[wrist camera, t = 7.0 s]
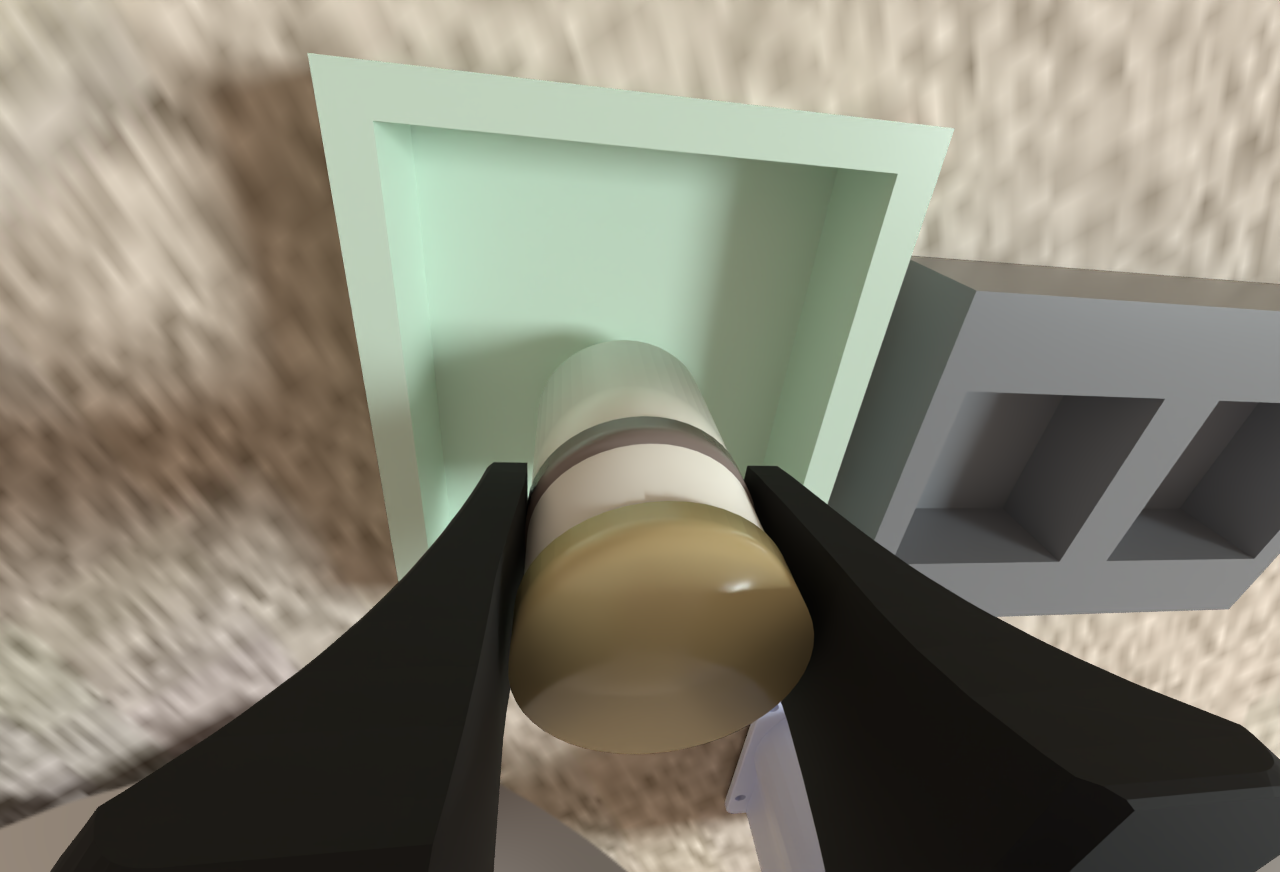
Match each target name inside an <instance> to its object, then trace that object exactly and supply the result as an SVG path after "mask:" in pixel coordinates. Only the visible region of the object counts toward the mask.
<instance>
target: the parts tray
mask: <svg viewBox="0 0 1280 872" xmlns="http://www.w3.org/2000/svg"><path fill="white" fill-rule="evenodd" d="M308 59H309V65H310V71H311V76H312V82H313V88H314V94H315V100H316V105H317V111H318V117H319V123H320V129H321V135H322V140H323V146H324V152H325V158H326V164H327V169H328V175H329V181H330V187H331V193H332V199H333V204H334V210H335V216H336V222H337V228H338V233H339V239H340V245H341V251H342V257H343V263H344V268H345V274H346V280H347V286H348V292H349V297H350V303H351V309H352V315H353V321H354V327H355V332H356V338H357V344H358V350H359V356H360V362H361V367H362V373H363V379H364V385H365V391H366V396H367V402H368V408H369V414H370V420H371V426H372V431H373V437H374V443H375V449H376V455H377V460H378V466H379V472H380V478H381V484H382V490H383V495H384V501H385V507H386V513H387V519H388V524H389V530H390V536H391V542H392V548H393V554H394V559H395V565H396V571H397V577H398V582H399V581H400V580H401V579H402V578H403V577H404V576H405V575H406V574H407V573H408V572H409V571H410V569H411V568H412V567H413V566H414V565H415V564H416V563H417V561H418V560H419V559H420V558H421V557H422V556H423V555H424V553H425V552H426V551H427V550H428V549H429V548H430V547H431V545H432V544H433V543H434V542H435V541H436V540H437V538H438V537H439V536H440V535H441V533H442V532H443V531H444V530H445V528H446V527H447V526H448V524H449V523H450V522H451V520H452V519H453V518H454V516H455V515H456V514H457V513H458V511H459V510H460V509H461V507H462V506H463V504H464V503H465V502H466V500H467V499H468V497H469V496H470V494H471V493H472V491H473V490H474V488H475V487H476V485H477V484H478V482H479V481H480V479H481V477H482V476H483V474H484V472H485V470H486V468H487V467H488V466H489V465H491V464H492V463H493V462H522V463H527V469H528V496H529V491H530V488H531V486H532V475H533V463H534V451H535V440H536V428H537V416H538V406H539V401H540V397H541V394H542V392H543V389H544V387H545V385H546V383H547V381H548V379H549V378H550V377H551V375H552V374H553V373H554V371H555V370H556V369H557V368H558V367H559V366H560V365H561V364H562V363H563V362H564V361H566V360H567V359H568V358H569V357H571V356H572V355H574V354H576V353H577V352H579V351H581V350H583V349H585V348H587V347H590V346H592V345H596V344H599V343H603V342H608V341H616V340H630V341H639V342H644V343H648V344H651V345H654V346H657V347H659V348H661V349H663V350H665V351H667V352H669V353H670V354H672V355H673V356H675V357H676V358H677V359H678V360H679V361H681V362H682V363H683V364H684V365H685V366H686V368H687V369H688V370H689V371H690V373H691V374H692V376H693V378H694V379H695V381H696V383H697V386H698V388H699V390H700V392H701V394H702V396H703V399H704V401H705V403H706V405H707V407H708V410H709V412H710V414H711V416H712V418H713V421H714V423H715V425H716V427H717V429H718V432H719V434H720V436H721V438H722V440H723V443H724V445H725V447H726V449H727V451H728V452H729V453H730V455H731V456H732V458H733V460H734V461H735V463H736V464H737V467H738V469H739V471H740V473H741V475H742V477H743V479H744V477H745V473H746V469H747V466H778V467H780V468H781V469H782V470H784V471H785V472H787V473H788V474H789V475H791V476H792V477H793V478H795V479H796V480H797V481H799V482H800V483H801V484H802V485H804V486H805V487H806V488H807V489H809V490H810V491H811V492H812V493H814V494H815V495H816V496H818V497H819V498H820V499H821V500H823V501H824V502H825V503H826V504H828V501H829V498H830V495H831V492H832V489H833V486H834V483H835V480H836V477H837V474H838V471H839V469H840V466H841V463H842V460H843V457H844V454H845V451H846V448H847V445H848V442H849V439H850V436H851V433H852V430H853V427H854V424H855V421H856V418H857V415H858V412H859V409H860V406H861V403H862V401H863V398H864V395H865V392H866V389H867V386H868V383H869V380H870V377H871V374H872V371H873V368H874V365H875V362H876V359H877V356H878V353H879V350H880V347H881V344H882V341H883V338H884V336H885V333H886V330H887V327H888V324H889V321H890V318H891V315H892V312H893V309H894V306H895V303H896V300H897V297H898V294H899V291H900V288H901V285H902V282H903V279H904V276H905V273H906V270H907V268H908V265H909V262H910V259H911V256H912V253H913V250H914V247H915V244H916V241H917V238H918V235H919V232H920V229H921V226H922V223H923V220H924V217H925V214H926V211H927V208H928V205H929V202H930V200H931V197H932V194H933V191H934V188H935V185H936V182H937V179H938V176H939V173H940V170H941V167H942V164H943V161H944V158H945V155H946V152H947V149H948V146H949V143H950V140H951V137H952V135H953V132H954V129H955V128H947V127H938V126H930V125H921V124H913V123H904V122H895V121H887V120H878V119H870V118H861V117H852V116H844V115H835V114H827V113H818V112H810V111H801V110H792V109H784V108H775V107H767V106H758V105H750V104H741V103H732V102H724V101H715V100H707V99H698V98H690V97H681V96H672V95H664V94H655V93H647V92H638V91H629V90H621V89H612V88H604V87H595V86H587V85H578V84H569V83H561V82H552V81H544V80H535V79H527V78H518V77H509V76H501V75H492V74H484V73H475V72H467V71H458V70H449V69H441V68H432V67H424V66H415V65H406V64H398V63H389V62H381V61H372V60H364V59H355V58H346V57H338V56H329V55H321V54H312V53H308Z"/></svg>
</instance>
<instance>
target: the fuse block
mask: <svg viewBox="0 0 1280 872" xmlns="http://www.w3.org/2000/svg"><path fill="white" fill-rule="evenodd" d="M828 505H829V506H830V507H831V508H833V509H834V510H835V511H836V512H838V513H839V514H840V515H841V516H843V517H844V518H845V519H847V520H848V521H849V522H851V523H852V524H853V525H854V526H856V527H857V528H858V529H860V530H861V531H862V532H864V533H865V534H866V535H868V536H869V537H870V538H872V539H873V540H874V541H876V542H877V543H879V544H880V545H881V546H883V547H884V548H886V549H887V550H888V551H890V552H891V553H893V554H894V555H896V556H897V557H899V558H900V559H901V560H903V561H904V562H906V563H907V564H909V565H910V566H911V567H913V568H914V569H916V570H918V571H919V572H921V573H922V574H924V575H925V576H927V577H928V578H930V579H931V580H933V581H935V582H936V583H938V584H940V585H941V586H943V587H945V588H946V589H948V590H950V591H951V592H953V593H955V594H956V595H958V596H960V597H961V598H963V599H965V600H966V601H968V602H970V603H971V604H973V605H975V606H977V607H978V608H980V609H982V610H984V611H986V612H987V613H989V614H991V615H993V616H995V617H1002V616H1033V615H1064V614H1095V613H1126V612H1157V611H1188V610H1219V609H1230V607H1231V606H1232V605H1233V604H1234V603H1235V602H1236V601H1237V600H1238V599H1239V598H1240V596H1241V595H1242V594H1243V593H1244V592H1245V591H1246V590H1247V589H1248V588H1249V587H1250V585H1251V584H1252V583H1253V582H1254V581H1255V580H1256V579H1257V578H1258V577H1259V576H1260V575H1261V573H1262V572H1263V571H1264V570H1265V569H1266V568H1267V567H1268V566H1269V565H1270V564H1271V562H1272V561H1273V560H1274V559H1275V558H1276V557H1277V556H1278V555H1279V554H1280V284H1269V283H1256V282H1243V281H1230V280H1216V279H1203V278H1190V277H1177V276H1164V275H1151V274H1138V273H1125V272H1112V271H1099V270H1086V269H1073V268H1060V267H1047V266H1034V265H1021V264H1008V263H995V262H982V261H969V260H956V259H943V258H930V257H917V256H911V259H910V262H909V265H908V268H907V270H906V273H905V276H904V279H903V282H902V285H901V288H900V291H899V294H898V297H897V300H896V303H895V306H894V309H893V312H892V315H891V318H890V321H889V324H888V327H887V330H886V333H885V336H884V338H883V341H882V344H881V347H880V350H879V353H878V356H877V359H876V362H875V365H874V368H873V371H872V374H871V377H870V380H869V383H868V386H867V389H866V392H865V395H864V398H863V401H862V403H861V406H860V409H859V412H858V415H857V418H856V421H855V424H854V427H853V430H852V433H851V436H850V439H849V442H848V445H847V448H846V451H845V454H844V457H843V460H842V463H841V466H840V469H839V471H838V474H837V477H836V480H835V483H834V486H833V489H832V492H831V495H830V498H829V501H828Z"/></svg>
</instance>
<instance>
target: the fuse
mask: <svg viewBox="0 0 1280 872" xmlns="http://www.w3.org/2000/svg"><path fill="white" fill-rule="evenodd" d="M525 551H526V557H525V568H524V576H523V578H522V580H521V583H520V585H519V588H518V590H517V594H516V599H515V604H514V613H513V623H512V633H511V644H510V654H509V665H508V678H509V683H510V688H511V691H512V693H513V696H514V698H515V701H516V702H517V704H518V705H519V707H520V708H521V710H522V711H523V713H524V714H525V715H526V716H527V717H528V718H529V719H530V720H531V721H532V722H533V723H534V724H536V725H537V726H538V727H540V728H541V729H542V730H544V731H545V732H547V733H549V734H551V735H552V736H554V737H556V738H558V739H560V740H563V741H565V742H567V743H570V744H573V745H576V746H579V747H582V748H586V749H591V750H596V751H600V752H608V753H617V754H654V753H662V752H671V751H676V750H681V749H686V748H690V747H694V746H698V745H702V744H705V743H708V742H711V741H714V740H717V739H720V738H722V737H725V736H727V735H729V734H732V733H734V732H736V731H738V730H740V729H742V728H744V727H746V726H747V725H749V724H751V723H753V722H754V721H756V720H757V719H759V718H761V717H762V716H764V715H765V714H766V713H768V712H769V711H770V710H772V709H773V708H774V707H775V706H777V705H778V704H779V703H780V702H781V701H782V700H783V699H784V698H785V697H786V696H787V695H788V694H789V693H790V692H791V690H792V689H793V688H794V687H795V686H796V684H797V683H798V682H799V680H800V678H801V677H802V675H803V673H804V672H805V670H806V668H807V665H808V663H809V661H810V658H811V654H812V650H813V644H814V629H813V623H812V619H811V616H810V613H809V611H808V608H807V606H806V604H805V602H804V600H803V598H802V595H801V593H800V591H799V589H798V587H797V585H796V583H795V581H794V579H793V576H792V574H791V572H790V570H789V568H788V566H787V564H786V562H785V559H784V557H783V555H782V554H781V552H780V550H779V549H778V547H777V545H776V544H775V543H774V542H773V540H772V539H771V538H770V537H769V536H768V535H767V534H766V533H765V532H764V530H763V528H762V526H761V524H760V521H759V519H758V517H757V515H756V513H755V508H754V503H753V500H752V498H751V495H750V493H749V490H748V488H747V486H746V484H745V482H744V479H743V477H742V475H741V473H740V471H739V469H738V467H737V464H736V463H735V461H734V460H733V458H732V456H731V455H730V453H729V452H728V451H727V449H726V447H725V445H724V443H723V440H722V438H721V436H720V434H719V432H718V429H717V427H716V425H715V423H714V421H713V418H712V416H711V414H710V412H709V410H708V407H707V405H706V403H705V401H704V399H703V396H702V394H701V392H700V390H699V388H698V386H697V383H696V381H695V379H694V378H693V376H692V374H691V373H690V371H689V370H688V369H687V368H686V366H685V365H684V364H683V363H682V362H681V361H679V360H678V359H677V358H676V357H675V356H673V355H672V354H670V353H669V352H667V351H665V350H663V349H661V348H659V347H657V346H654V345H651V344H648V343H644V342H639V341H630V340H616V341H608V342H603V343H599V344H596V345H592V346H590V347H587V348H585V349H583V350H581V351H579V352H577V353H576V354H574V355H572V356H571V357H569V358H568V359H567V360H566V361H564V362H563V363H562V364H561V365H560V366H559V367H558V368H557V369H556V370H555V371H554V373H553V374H552V375H551V377H550V378H549V379H548V381H547V383H546V385H545V387H544V389H543V392H542V394H541V397H540V401H539V406H538V416H537V428H536V440H535V451H534V463H533V475H532V486H531V488H530V491H529V496H528V501H527V511H526V522H525Z"/></svg>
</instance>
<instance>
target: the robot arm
mask: <svg viewBox="0 0 1280 872" xmlns="http://www.w3.org/2000/svg"><path fill="white" fill-rule="evenodd" d="M744 482H745V484H746V486H747V488H748V490H749V493H750V495H751V498H752V500H753V503H754V508H755V513H756V515H757V517H758V519H759V521H760V524H761V526H762V528H763V530H764V532H765V533H766V534H767V535H768V536H769V537H770V538H771V539H772V540H773V542H774V543H775V544H776V545H777V547H778V549H779V550H780V552H781V554H782V555H783V557H784V559H785V562H786V564H787V566H788V568H789V570H790V572H791V574H792V576H793V579H794V581H795V583H796V585H797V587H798V589H799V591H800V593H801V595H802V598H803V600H804V602H805V604H806V606H807V608H808V611H809V613H810V616H811V619H812V623H813V629H814V644H813V650H812V654H811V658H810V661H809V663H808V665H807V668H806V670H805V672H804V673H803V675H802V677H801V678H800V680H799V682H798V683H797V684H796V686H795V687H794V688H793V689H792V690H791V692H790V693H789V694H788V695H787V696H786V697H785V698H784V699H783V700H782V701H781V702H780V703H779V704H778V705H777V706H775V707H774V708H773V709H772V710H770V711H769V712H768V713H766V714H765V715H764V716H762V717H761V718H759V719H757V720H756V721H754V722H753V723H751V725H750V728H749V731H748V734H747V737H746V740H745V743H744V746H743V749H742V752H741V755H740V758H739V761H738V764H737V767H736V770H735V773H734V776H733V779H732V782H731V785H730V788H729V791H728V794H727V797H726V800H725V807H726V811H727V812H729V813H732V814H736V813H747V817H748V821H749V825H750V829H751V833H752V837H753V841H754V844H755V848H756V852H757V856H758V860H759V864H760V868H761V872H1256V871H1257V870H1258V869H1260V868H1261V867H1263V866H1264V865H1266V864H1267V863H1269V862H1270V861H1271V860H1273V859H1274V858H1276V857H1277V856H1279V855H1280V759H1279V758H1278V757H1277V756H1275V755H1274V754H1273V753H1272V752H1271V751H1270V750H1269V749H1268V748H1267V747H1266V746H1265V745H1264V744H1263V743H1262V742H1260V741H1259V740H1258V739H1257V738H1256V737H1255V736H1254V735H1253V734H1252V733H1250V732H1249V731H1248V730H1247V729H1246V728H1244V727H1243V726H1241V725H1239V724H1237V723H1234V722H1232V721H1229V720H1227V719H1224V718H1221V717H1219V716H1216V715H1214V714H1211V713H1209V712H1206V711H1204V710H1201V709H1198V708H1196V707H1193V706H1191V705H1188V704H1186V703H1183V702H1181V701H1178V700H1175V699H1173V698H1170V697H1168V696H1165V695H1163V694H1160V693H1158V692H1155V691H1153V690H1150V689H1147V688H1145V687H1142V686H1140V685H1137V684H1135V683H1133V682H1130V681H1128V680H1126V679H1123V678H1121V677H1119V676H1117V675H1114V674H1112V673H1110V672H1108V671H1106V670H1103V669H1101V668H1099V667H1097V666H1094V665H1092V664H1090V663H1088V662H1085V661H1083V660H1081V659H1079V658H1076V657H1074V656H1072V655H1070V654H1068V653H1066V652H1064V651H1062V650H1060V649H1057V648H1055V647H1053V646H1051V645H1049V644H1047V643H1045V642H1043V641H1041V640H1039V639H1037V638H1035V637H1033V636H1031V635H1029V634H1027V633H1025V632H1023V631H1022V630H1020V629H1018V628H1016V627H1014V626H1012V625H1010V624H1008V623H1006V622H1004V621H1002V620H1000V619H998V618H997V617H995V616H993V615H991V614H989V613H987V612H986V611H984V610H982V609H980V608H978V607H977V606H975V605H973V604H971V603H970V602H968V601H966V600H965V599H963V598H961V597H960V596H958V595H956V594H955V593H953V592H951V591H950V590H948V589H946V588H945V587H943V586H941V585H940V584H938V583H936V582H935V581H933V580H931V579H930V578H928V577H927V576H925V575H924V574H922V573H921V572H919V571H918V570H916V569H914V568H913V567H911V566H910V565H909V564H907V563H906V562H904V561H903V560H901V559H900V558H899V557H897V556H896V555H894V554H893V553H891V552H890V551H888V550H887V549H886V548H884V547H883V546H881V545H880V544H879V543H877V542H876V541H874V540H873V539H872V538H870V537H869V536H868V535H866V534H865V533H864V532H862V531H861V530H860V529H858V528H857V527H856V526H854V525H853V524H852V523H851V522H849V521H848V520H847V519H845V518H844V517H843V516H841V515H840V514H839V513H838V512H836V511H835V510H834V509H833V508H831V507H830V506H829V505H828V504H826V503H825V502H824V501H823V500H821V499H820V498H819V497H818V496H816V495H815V494H814V493H812V492H811V491H810V490H809V489H807V488H806V487H805V486H804V485H802V484H801V483H800V482H799V481H797V480H796V479H795V478H793V477H792V476H791V475H789V474H788V473H787V472H785V471H784V470H782V469H781V468H780V467H778V466H747V469H746V473H745V477H744ZM527 501H528V469H527V463H522V462H493V463H492V464H491V465H489V466H488V467H487V468H486V470H485V472H484V474H483V476H482V477H481V479H480V481H479V482H478V484H477V485H476V487H475V488H474V490H473V491H472V493H471V494H470V496H469V497H468V499H467V500H466V502H465V503H464V504H463V506H462V507H461V509H460V510H459V511H458V513H457V514H456V515H455V516H454V518H453V519H452V520H451V522H450V523H449V524H448V526H447V527H446V528H445V530H444V531H443V532H442V533H441V535H440V536H439V537H438V538H437V540H436V541H435V542H434V543H433V544H432V545H431V547H430V548H429V549H428V550H427V551H426V552H425V553H424V555H423V556H422V557H421V558H420V559H419V560H418V561H417V563H416V564H415V565H414V566H413V567H412V568H411V569H410V571H409V572H408V573H407V574H406V575H405V576H404V577H403V578H402V579H401V580H400V581H399V582H398V583H397V584H396V585H395V586H394V587H393V588H392V589H391V590H390V591H389V592H388V593H387V594H386V595H385V596H384V597H383V598H382V599H381V600H380V601H379V602H378V603H377V604H376V605H375V606H374V607H373V608H372V609H371V610H370V611H369V612H368V613H367V614H366V615H364V616H363V617H362V618H361V619H360V620H359V621H358V622H357V623H356V624H354V625H353V626H352V627H351V628H350V629H349V630H348V631H346V632H345V633H344V634H343V635H342V636H341V637H340V638H338V639H337V640H336V641H335V642H334V643H333V644H331V645H330V646H329V647H328V648H327V649H326V650H324V651H323V652H322V653H321V654H320V655H318V656H317V657H316V658H315V659H314V660H312V661H311V662H310V663H309V664H307V665H306V666H305V667H304V668H302V669H301V670H300V671H299V672H297V673H296V674H295V675H293V676H292V677H291V678H289V679H288V680H287V681H285V682H284V683H282V684H281V685H280V686H278V687H277V688H276V689H274V690H273V691H272V692H270V693H269V694H268V695H266V696H265V697H264V698H262V699H261V700H260V701H258V702H257V703H256V704H254V705H253V706H252V707H250V708H249V709H248V710H246V711H245V712H244V713H242V714H241V715H239V716H238V717H237V718H235V719H234V720H232V721H231V722H230V723H228V724H227V725H225V726H224V727H222V728H221V729H219V730H218V731H216V732H215V733H214V734H212V735H211V736H209V737H208V738H206V739H205V740H203V741H201V742H200V743H198V744H197V745H195V746H194V747H192V748H191V749H189V750H187V751H186V752H184V753H183V754H181V755H180V756H178V757H177V758H175V759H173V760H172V761H170V762H169V763H167V764H166V765H164V766H163V767H161V768H159V769H158V770H156V771H155V772H153V773H152V774H150V775H149V776H147V777H145V778H144V779H142V780H141V781H139V782H138V783H136V784H135V785H133V786H131V787H130V788H128V789H127V790H125V791H124V792H122V793H121V794H119V795H117V796H116V797H114V798H112V799H111V800H109V801H107V802H106V803H104V804H102V805H101V806H99V807H98V808H97V809H96V811H95V812H94V813H93V815H92V816H91V817H90V819H89V820H88V822H87V823H86V824H85V826H84V827H83V828H82V830H81V831H80V832H79V834H78V835H77V836H76V838H75V839H74V840H73V841H72V843H71V844H70V845H69V846H68V848H67V849H66V850H65V852H64V853H63V854H62V855H61V857H60V858H59V860H58V861H57V863H56V864H55V865H54V867H53V868H52V870H51V872H493V871H494V857H495V843H496V828H497V814H498V800H499V787H500V773H501V760H502V746H503V735H504V727H505V719H506V711H507V705H508V699H509V693H510V683H509V678H508V665H509V654H510V644H511V633H512V623H513V613H514V604H515V599H516V594H517V590H518V588H519V585H520V583H521V580H522V578H523V576H524V568H525V557H526V551H525V522H526V511H527Z"/></svg>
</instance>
